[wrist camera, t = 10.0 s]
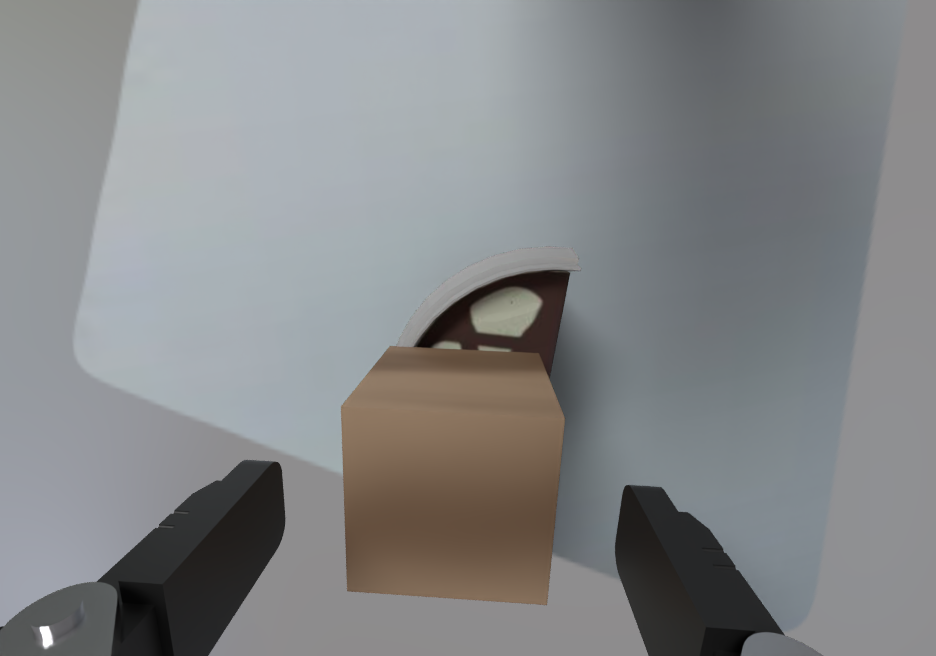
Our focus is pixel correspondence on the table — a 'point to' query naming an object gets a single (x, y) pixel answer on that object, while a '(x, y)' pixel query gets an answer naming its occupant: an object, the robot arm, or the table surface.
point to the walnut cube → (452, 475)
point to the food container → (498, 305)
